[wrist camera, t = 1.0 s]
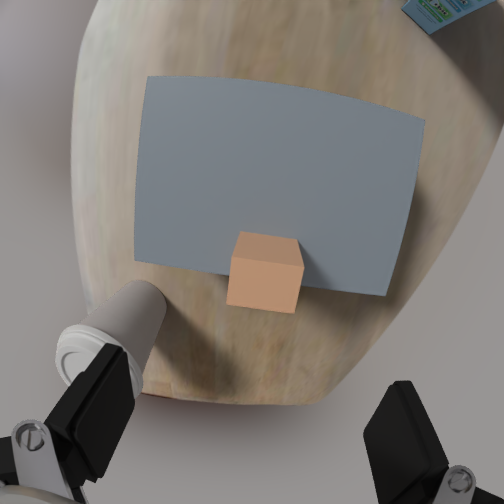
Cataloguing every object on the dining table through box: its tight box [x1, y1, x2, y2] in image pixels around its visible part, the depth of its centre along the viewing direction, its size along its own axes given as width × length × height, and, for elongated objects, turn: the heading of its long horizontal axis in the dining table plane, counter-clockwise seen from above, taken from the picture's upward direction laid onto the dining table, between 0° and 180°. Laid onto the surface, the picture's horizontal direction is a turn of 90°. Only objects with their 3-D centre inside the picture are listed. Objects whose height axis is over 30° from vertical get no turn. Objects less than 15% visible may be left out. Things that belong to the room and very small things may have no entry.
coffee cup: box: [55, 280, 167, 399], centre depth 30 cm, size 10×10×15 cm
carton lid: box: [134, 76, 425, 314], centre depth 18 cm, size 14×20×6 cm
